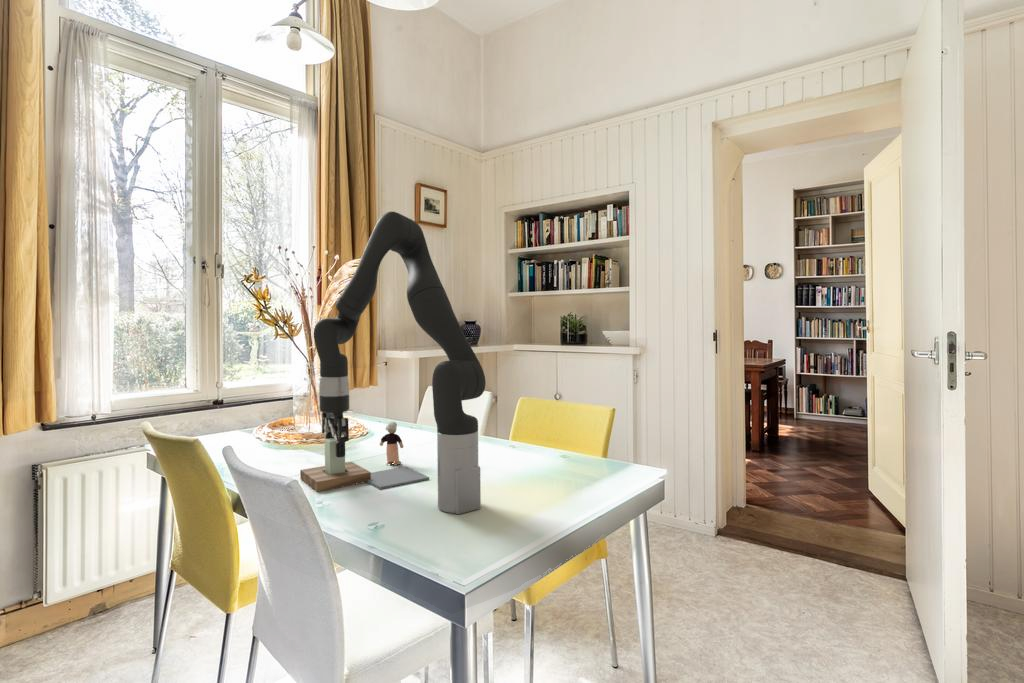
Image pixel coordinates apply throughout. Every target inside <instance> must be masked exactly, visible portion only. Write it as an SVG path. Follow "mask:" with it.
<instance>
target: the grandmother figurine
mask: <svg viewBox="0 0 1024 683" xmlns="http://www.w3.org/2000/svg"><path fill="white" fill-rule="evenodd" d="M397 428H398V424H397V422H395V421H390V422H388V423H387V425H386V426H385V428H384V429H385V430H386V431H387V432H388V433H387V434H385V435H383V437H381V438H380V443H379V446H380V447H382V446H383V445H384V443H386V461H387V462H386V464H392V463H394V465H393V464H392V465H393V466H395V465H396V466H398V465H397V464H400V465H402V464H401V463H402V461H400V456H399V455H400V454H399V448H400V449H403V448H404V444H403V440H402V439H401V437H400V435H399V434H396V432H397Z"/></svg>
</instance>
